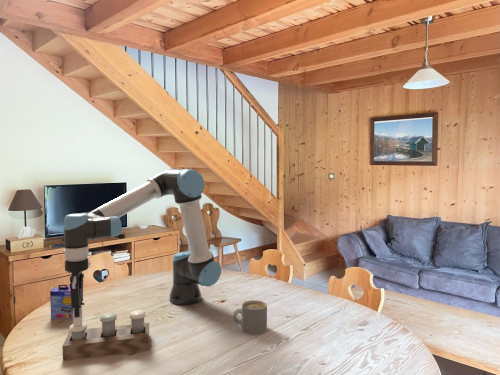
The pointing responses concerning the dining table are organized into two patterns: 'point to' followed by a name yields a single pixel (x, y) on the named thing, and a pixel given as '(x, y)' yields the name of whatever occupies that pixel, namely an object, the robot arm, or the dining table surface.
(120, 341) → the panel
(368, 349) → the dining table surface
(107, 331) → the knob middle
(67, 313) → the ink cartridge box
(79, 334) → the knob
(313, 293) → the dining table surface
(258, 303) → the coffee mug
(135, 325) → the knob
